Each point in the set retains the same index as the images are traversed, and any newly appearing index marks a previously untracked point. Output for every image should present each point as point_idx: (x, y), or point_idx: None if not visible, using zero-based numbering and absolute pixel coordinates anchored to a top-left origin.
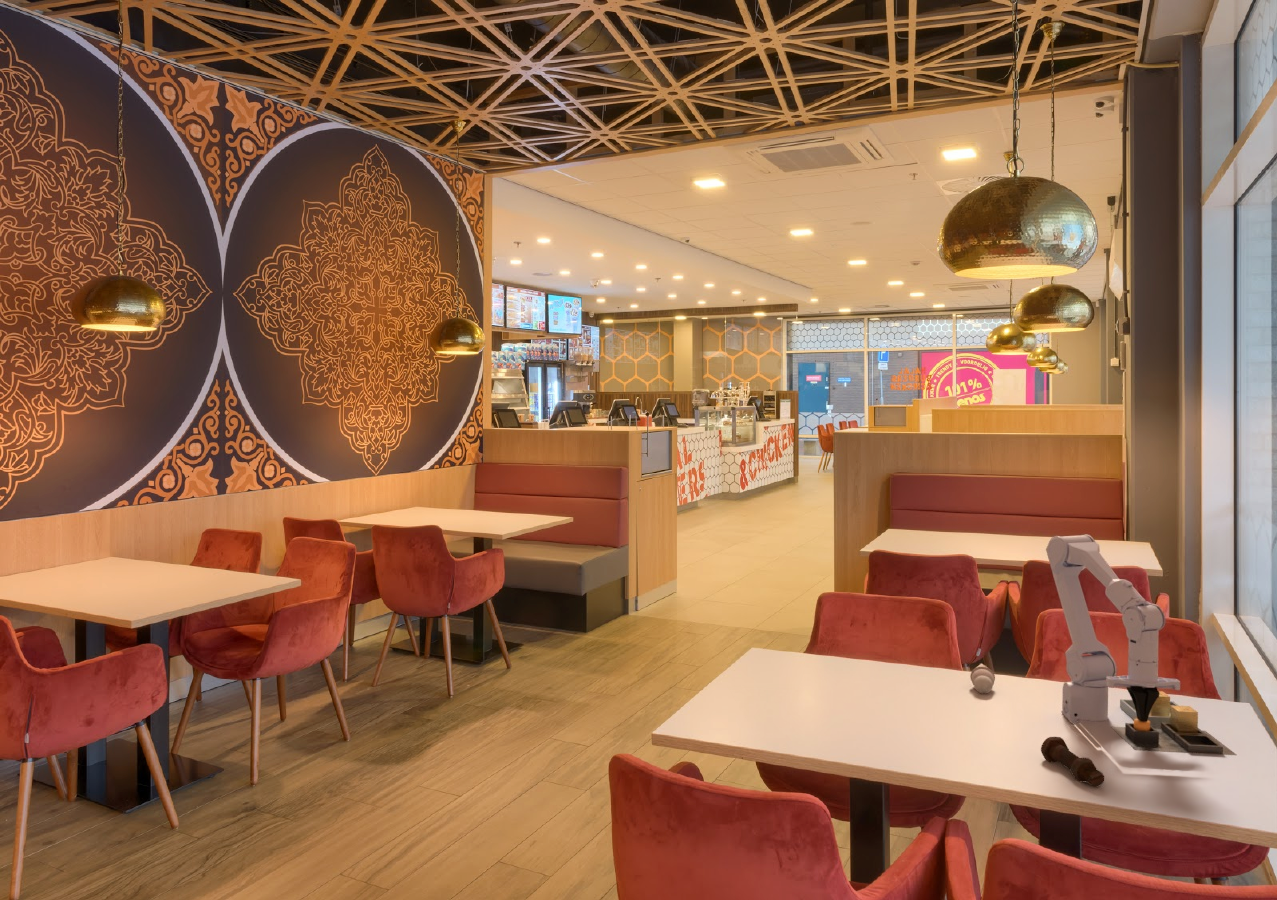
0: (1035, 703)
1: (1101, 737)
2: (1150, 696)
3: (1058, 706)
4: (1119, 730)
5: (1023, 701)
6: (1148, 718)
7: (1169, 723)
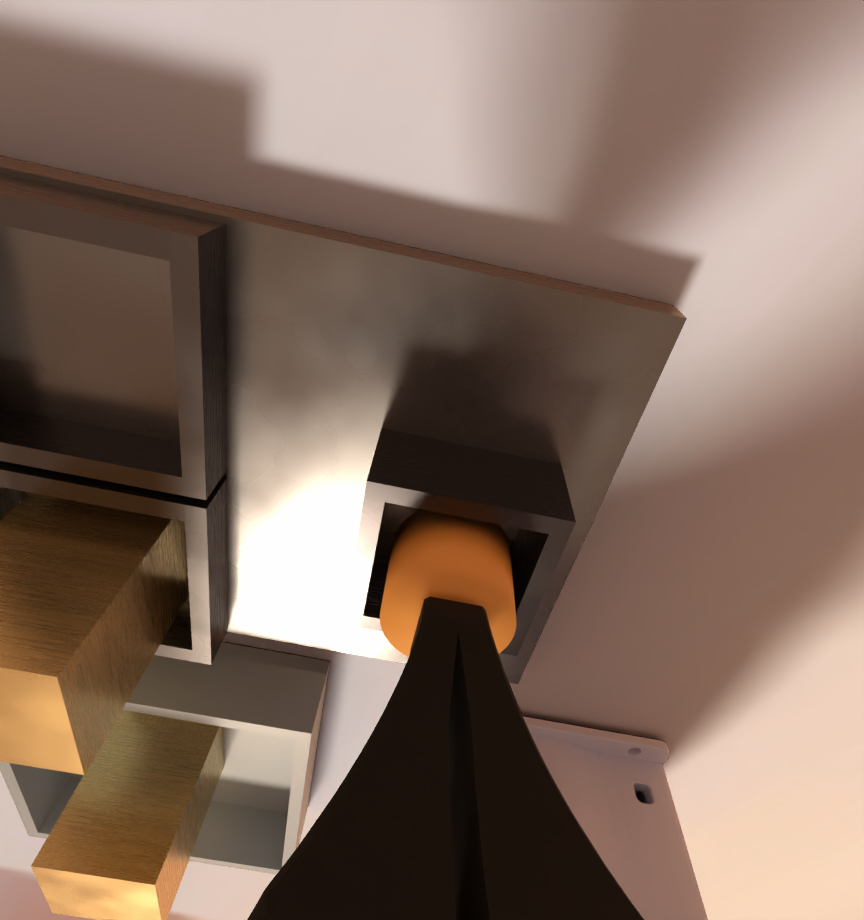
0: None
1: (652, 593)
2: (417, 910)
3: None
4: None
5: None
6: (263, 712)
7: (161, 647)
